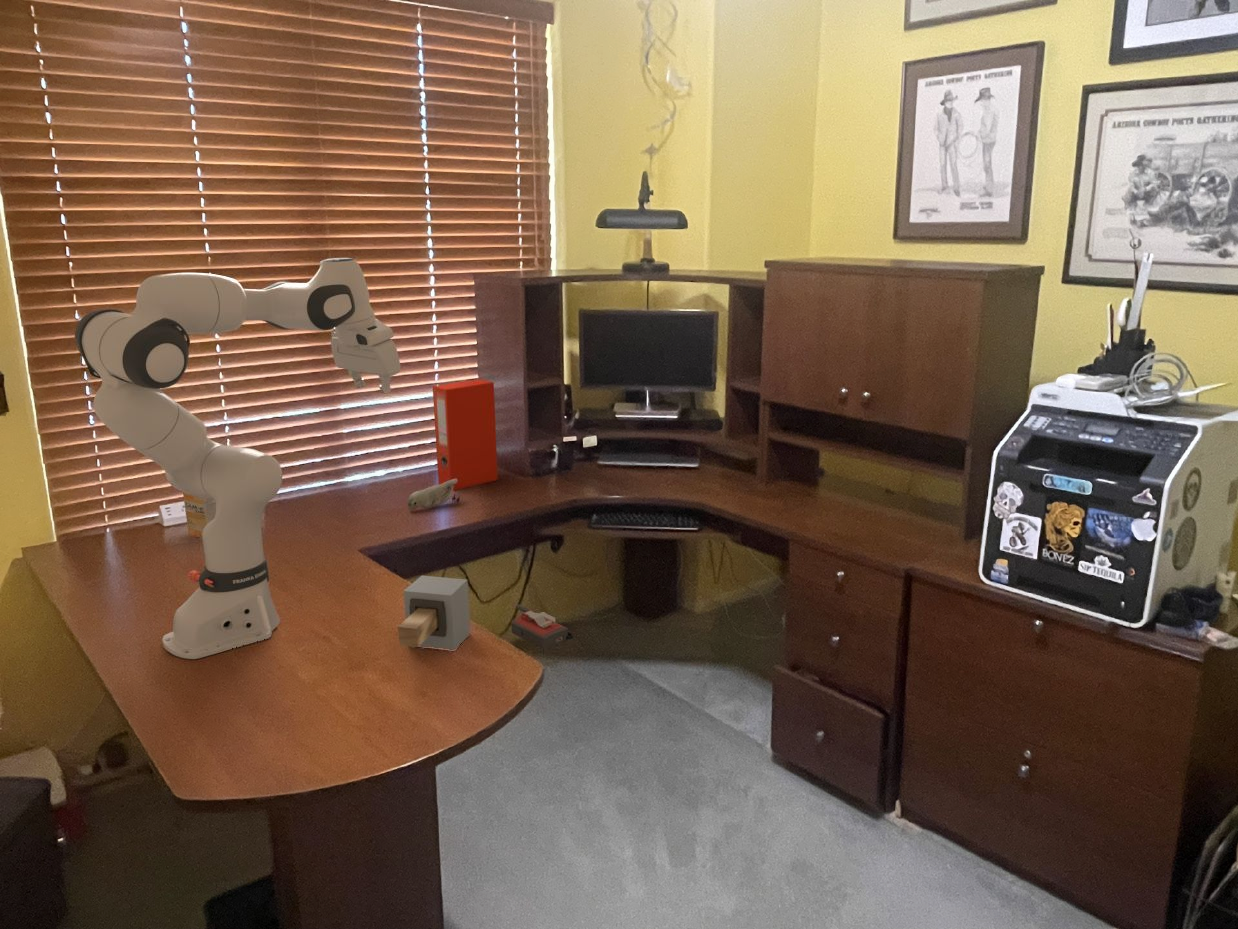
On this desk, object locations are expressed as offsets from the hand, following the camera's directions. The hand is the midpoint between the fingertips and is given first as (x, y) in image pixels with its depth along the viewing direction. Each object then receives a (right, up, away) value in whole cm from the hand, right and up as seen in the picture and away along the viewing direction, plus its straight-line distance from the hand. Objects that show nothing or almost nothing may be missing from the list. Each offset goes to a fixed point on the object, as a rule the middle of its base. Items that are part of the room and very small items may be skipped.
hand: (373, 389), depth 204 cm
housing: (+19, -52, -20) cm, 59 cm away
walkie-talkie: (+37, -51, -16) cm, 66 cm away
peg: (+17, -49, -27) cm, 59 cm away
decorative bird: (+1, -30, +63) cm, 70 cm away
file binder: (+7, -23, +87) cm, 90 cm away
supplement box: (-57, -36, +42) cm, 79 cm away
